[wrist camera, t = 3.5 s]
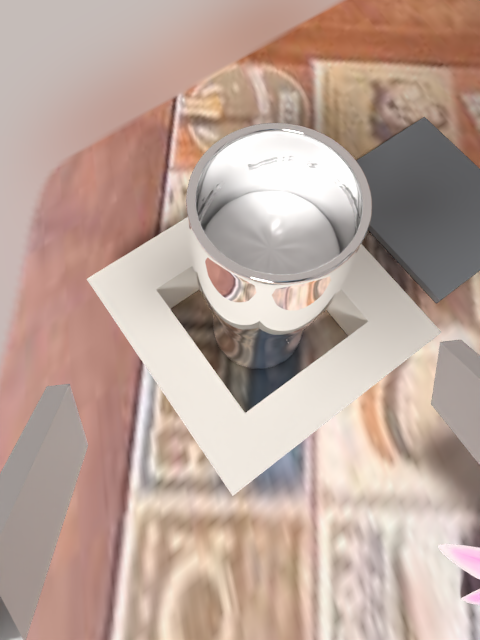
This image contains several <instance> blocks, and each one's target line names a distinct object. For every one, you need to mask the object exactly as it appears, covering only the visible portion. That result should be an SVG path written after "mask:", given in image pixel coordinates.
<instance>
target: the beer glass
mask: <svg viewBox="0 0 480 640" xmlns="http://www.w3.org/2000/svg"><path fill="white" fill-rule="evenodd" d="M186 206H187V214H188V225H189V245H190V253H191V260H192V266H193V270H194V274H195V277H196V281H197V284H198V287H199V290H200V292H201V294H202V296H203V298H204V300H205V302H206V303H207V305H208V307H209V308H210V310H211V311H212V313H213V314H214V318H213V331H214V336H215V339H216V342H217V344H218V346H219V347H220V349H221V350H222V352H223V353H224V354H225V355H226V356H227V357H228V358H229V359H231V360H232V361H233V362H235V363H237V364H239V365H241V366H244V367H248V368H253V369H265V368H270V367H273V366H276V365H278V364H280V363H282V362H284V361H285V360H287V359H288V358H289V357H290V356H291V355H292V354H293V353H294V352H295V350H296V349H297V347H298V345H299V343H300V341H301V338H302V334H303V330H304V329H305V328H307V327H308V326H309V325H311V324H312V323H313V322H314V321H315V320H316V319H318V318H319V317H320V316H321V315H322V314H323V313H324V312H325V311H326V310H327V308H328V307H329V306H330V304H331V303H332V302H333V300H334V299H335V297H336V296H337V295H338V293H339V292H340V290H341V288H342V286H343V284H344V282H345V281H346V279H347V277H348V275H349V273H350V270H351V268H352V266H353V263H354V261H355V258H356V256H357V253H358V250H359V248H360V245H361V244H362V242H363V240H364V238H365V236H366V234H367V231H368V228H369V225H370V221H371V215H372V197H371V192H370V188H369V184H368V181H367V179H366V176H365V174H364V172H363V171H362V169H361V167H360V166H359V164H358V163H357V161H356V160H355V159H354V158H353V156H352V155H351V154H350V153H349V152H348V151H347V150H346V149H345V148H344V147H342V146H341V145H340V144H339V143H337V142H336V141H334V140H333V139H331V138H330V137H328V136H326V135H324V134H322V133H320V132H318V131H315V130H313V129H310V128H307V127H303V126H299V125H294V124H286V123H266V124H258V125H253V126H249V127H246V128H243V129H240V130H237V131H235V132H233V133H231V134H229V135H227V136H225V137H224V138H222V139H221V140H219V141H218V142H216V143H215V144H214V145H213V146H212V147H210V148H209V149H208V150H207V151H206V152H205V154H204V155H203V156H202V157H201V159H200V160H199V161H198V163H197V165H196V166H195V168H194V170H193V172H192V175H191V177H190V180H189V184H188V188H187V196H186Z"/></svg>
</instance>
